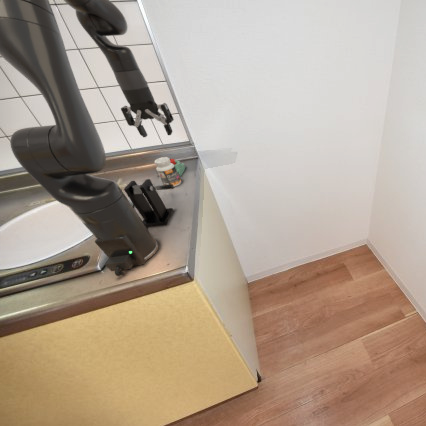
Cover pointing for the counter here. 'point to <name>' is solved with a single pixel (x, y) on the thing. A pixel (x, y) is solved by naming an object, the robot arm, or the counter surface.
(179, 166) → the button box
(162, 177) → the pill bottle
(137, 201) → the bracket
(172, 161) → the stop button
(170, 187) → the lever
